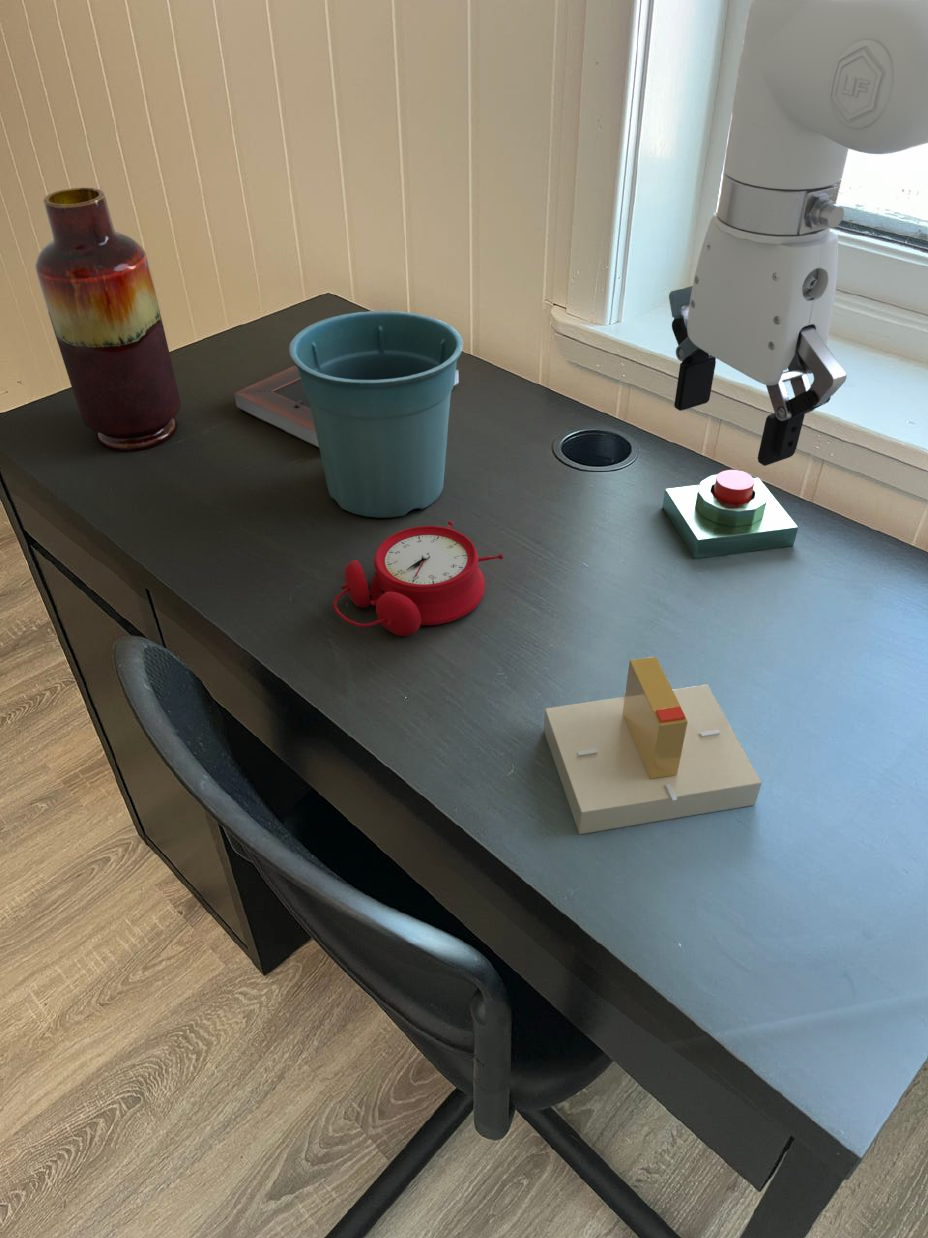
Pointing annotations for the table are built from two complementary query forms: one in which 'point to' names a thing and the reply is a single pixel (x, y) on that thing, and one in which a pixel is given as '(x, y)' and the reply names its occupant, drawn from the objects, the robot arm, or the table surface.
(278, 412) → the picture frame
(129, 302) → the vase
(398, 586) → the alarm clock
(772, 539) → the button block
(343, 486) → the flower pot
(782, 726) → the table surface
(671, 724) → the tan block
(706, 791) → the dial base plate
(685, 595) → the table surface
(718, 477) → the button
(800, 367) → the robot arm
